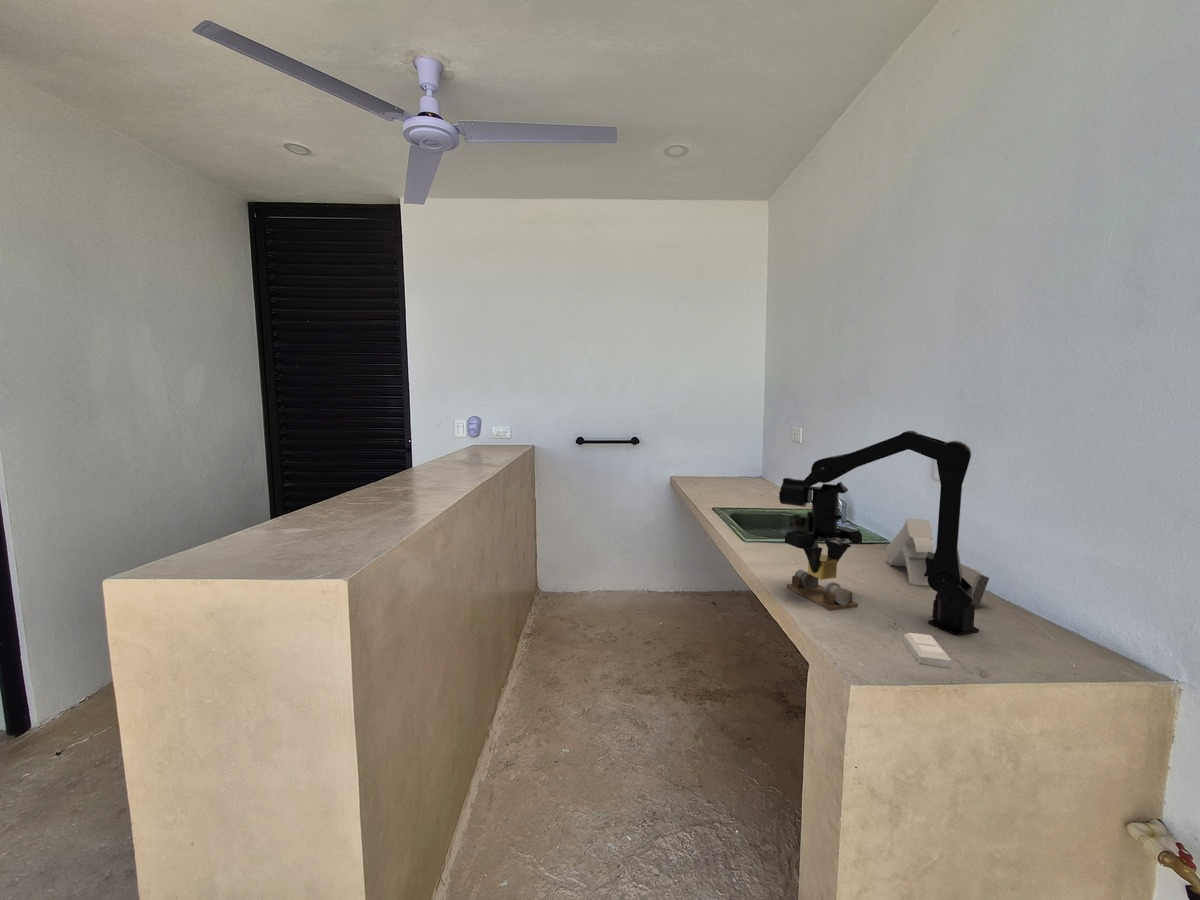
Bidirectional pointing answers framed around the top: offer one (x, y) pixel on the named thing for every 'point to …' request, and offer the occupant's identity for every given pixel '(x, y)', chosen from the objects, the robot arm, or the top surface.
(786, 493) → the robot arm
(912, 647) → the soap bar
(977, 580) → the electrical switch
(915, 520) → the beige angular piece
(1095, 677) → the top surface
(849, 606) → the pipe cradle
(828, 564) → the yellow hollow block
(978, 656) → the top surface
